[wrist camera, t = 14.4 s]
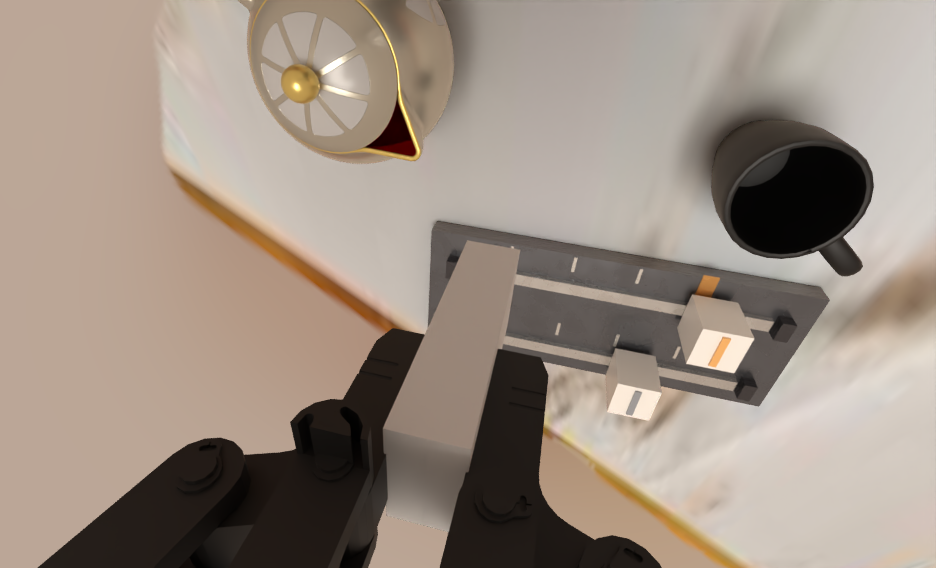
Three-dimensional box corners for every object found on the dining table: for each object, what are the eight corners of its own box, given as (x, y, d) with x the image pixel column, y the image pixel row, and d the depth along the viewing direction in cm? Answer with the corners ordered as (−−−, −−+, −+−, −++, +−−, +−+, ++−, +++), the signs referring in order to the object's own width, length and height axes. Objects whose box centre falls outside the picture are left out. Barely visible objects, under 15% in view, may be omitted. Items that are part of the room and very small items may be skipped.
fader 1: (615, 348, 47) (618, 385, 43) (655, 356, 47) (662, 394, 42) (605, 375, 49) (607, 413, 45) (643, 383, 49) (648, 422, 45)
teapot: (515, 44, 36) (473, 86, 23) (417, 165, 44) (343, 250, 30) (326, -145, 32) (144, -227, 19) (254, 24, 40) (87, 50, 26)
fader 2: (692, 294, 42) (703, 330, 38) (738, 302, 41) (755, 340, 37) (677, 327, 44) (686, 365, 40) (720, 336, 44) (734, 374, 39)
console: (437, 218, 46) (428, 232, 44) (822, 284, 42) (837, 305, 39) (432, 326, 54) (424, 344, 52) (753, 392, 50) (762, 415, 47)
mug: (755, 250, 41) (794, 314, 33) (675, 153, 38) (697, 198, 30) (858, 192, 37) (929, 251, 29) (777, 77, 34) (833, 108, 26)
